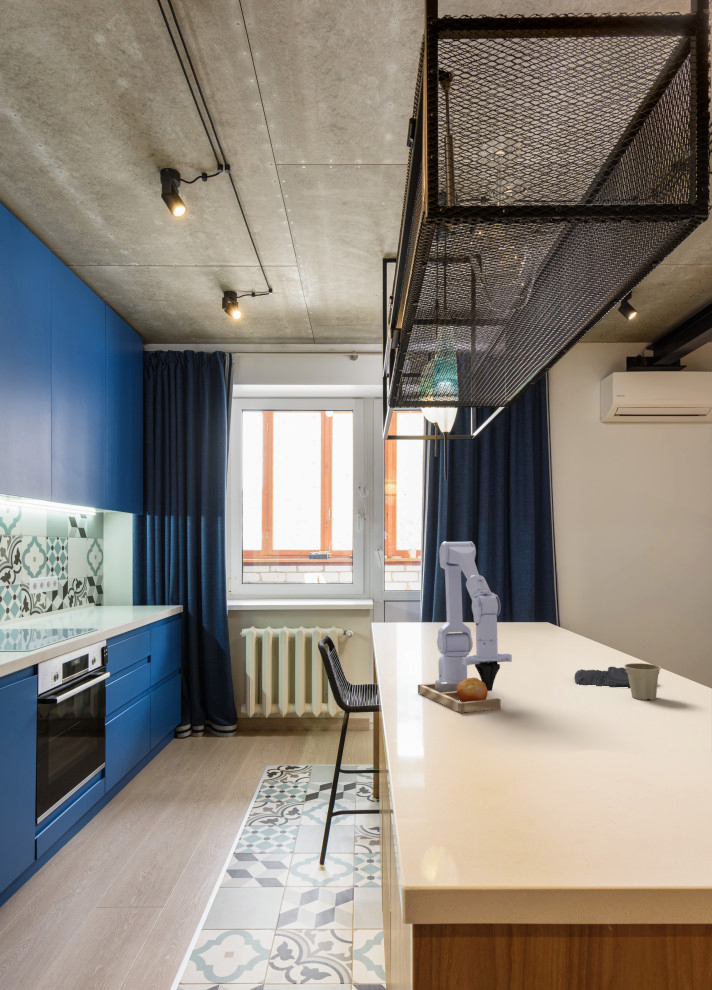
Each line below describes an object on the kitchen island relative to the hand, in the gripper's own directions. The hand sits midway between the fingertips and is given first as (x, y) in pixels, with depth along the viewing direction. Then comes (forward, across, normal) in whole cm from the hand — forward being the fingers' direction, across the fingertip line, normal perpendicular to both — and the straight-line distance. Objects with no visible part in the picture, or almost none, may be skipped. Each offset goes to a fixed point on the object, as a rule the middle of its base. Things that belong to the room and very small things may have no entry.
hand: (487, 690), depth 178 cm
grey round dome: (+3, -6, +12) cm, 14 cm away
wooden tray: (+3, -6, +6) cm, 9 cm away
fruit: (+4, -5, 0) cm, 6 cm away
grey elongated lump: (+4, +49, +8) cm, 50 cm away
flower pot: (+4, +43, -12) cm, 44 cm away
